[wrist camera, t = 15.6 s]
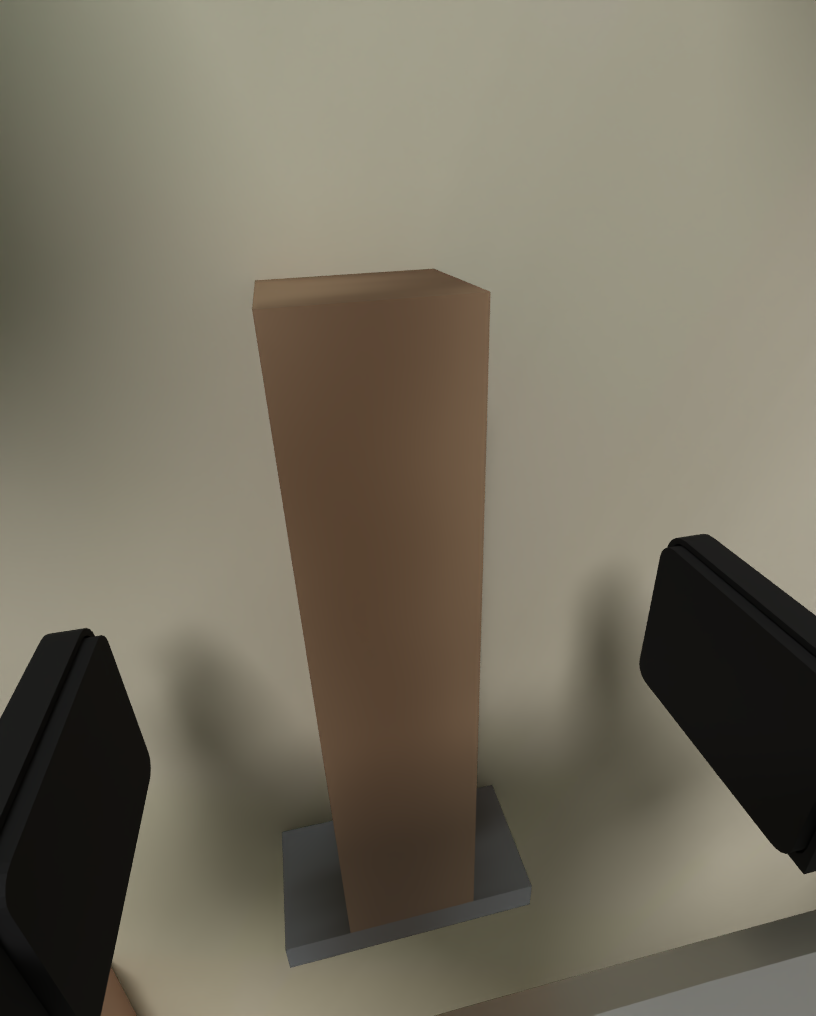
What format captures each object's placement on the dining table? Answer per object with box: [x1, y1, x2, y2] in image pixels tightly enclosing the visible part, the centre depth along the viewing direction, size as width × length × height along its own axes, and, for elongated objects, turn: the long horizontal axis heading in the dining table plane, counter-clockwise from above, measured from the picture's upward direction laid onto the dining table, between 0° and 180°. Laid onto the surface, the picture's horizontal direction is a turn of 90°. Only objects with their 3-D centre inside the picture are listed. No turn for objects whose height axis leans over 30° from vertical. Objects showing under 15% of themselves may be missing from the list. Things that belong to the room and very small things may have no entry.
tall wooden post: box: [252, 269, 532, 968], centre depth 12 cm, size 6×15×3 cm, turn 2°
